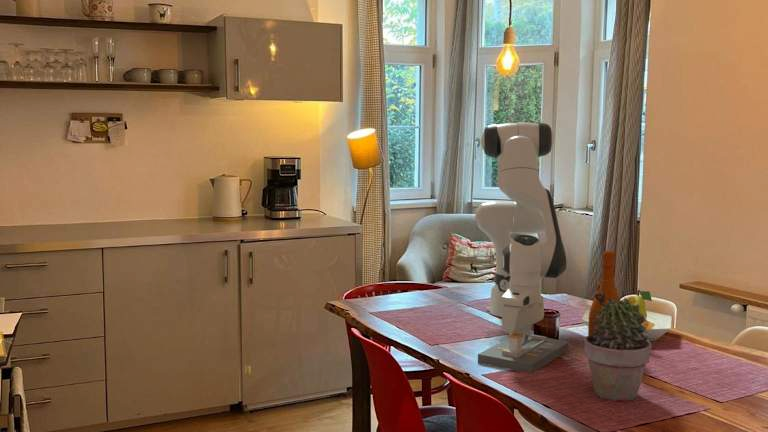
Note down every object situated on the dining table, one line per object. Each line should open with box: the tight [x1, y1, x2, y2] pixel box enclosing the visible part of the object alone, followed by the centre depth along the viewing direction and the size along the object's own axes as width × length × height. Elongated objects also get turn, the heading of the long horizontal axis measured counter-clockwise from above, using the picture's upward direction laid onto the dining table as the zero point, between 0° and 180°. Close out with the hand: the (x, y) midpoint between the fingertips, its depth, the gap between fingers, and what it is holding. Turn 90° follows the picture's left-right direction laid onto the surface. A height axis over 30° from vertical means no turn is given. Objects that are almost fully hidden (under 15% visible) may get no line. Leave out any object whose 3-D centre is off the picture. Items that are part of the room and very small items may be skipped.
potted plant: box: [578, 289, 663, 402], centre depth 186 cm, size 18×20×25 cm
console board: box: [477, 333, 570, 374], centre depth 218 cm, size 26×16×4 cm, turn 145°
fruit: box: [581, 289, 672, 342], centre depth 240 cm, size 30×26×14 cm
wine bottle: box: [587, 249, 622, 336], centre depth 218 cm, size 10×10×30 cm
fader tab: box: [507, 333, 523, 353], centre depth 212 cm, size 3×3×5 cm
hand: (523, 341), depth 217 cm, fingers closed
